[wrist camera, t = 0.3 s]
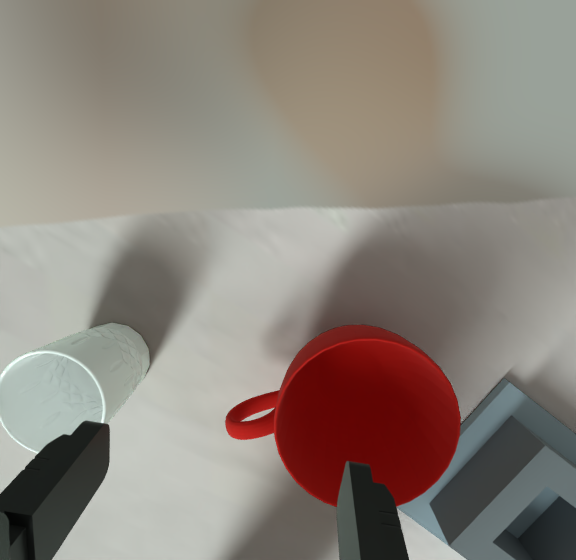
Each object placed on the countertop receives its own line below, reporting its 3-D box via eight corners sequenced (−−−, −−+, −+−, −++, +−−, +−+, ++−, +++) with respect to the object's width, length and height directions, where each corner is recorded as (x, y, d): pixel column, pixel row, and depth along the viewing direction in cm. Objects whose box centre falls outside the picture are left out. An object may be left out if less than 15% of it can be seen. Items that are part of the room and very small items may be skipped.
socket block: (515, 589, 40) (553, 654, 34) (393, 499, 39) (410, 549, 33) (629, 476, 38) (691, 523, 32) (503, 378, 37) (543, 407, 31)
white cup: (138, 408, 38) (82, 473, 28) (63, 375, 38) (-21, 429, 28) (169, 337, 37) (122, 378, 27) (91, 302, 37) (15, 331, 27)
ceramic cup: (229, 319, 36) (204, 355, 27) (412, 298, 36) (455, 326, 26) (249, 448, 38) (231, 526, 28) (423, 430, 38) (468, 503, 28)
